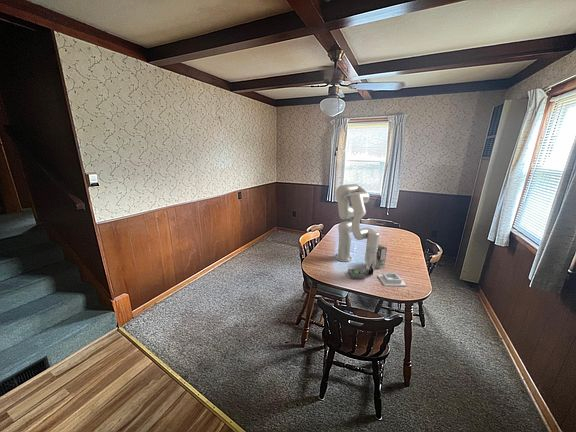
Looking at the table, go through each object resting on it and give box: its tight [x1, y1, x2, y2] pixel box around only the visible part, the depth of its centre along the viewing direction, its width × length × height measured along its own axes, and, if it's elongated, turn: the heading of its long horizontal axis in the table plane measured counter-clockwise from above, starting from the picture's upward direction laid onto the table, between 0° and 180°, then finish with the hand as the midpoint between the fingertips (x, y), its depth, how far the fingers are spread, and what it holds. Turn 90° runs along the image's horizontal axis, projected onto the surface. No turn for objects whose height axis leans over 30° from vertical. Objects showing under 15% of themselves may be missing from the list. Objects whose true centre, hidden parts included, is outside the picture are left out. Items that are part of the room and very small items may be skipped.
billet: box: [364, 262, 372, 277], centre depth 161 cm, size 5×5×8 cm
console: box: [347, 268, 366, 280], centre depth 159 cm, size 9×9×3 cm
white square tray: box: [377, 272, 407, 287], centre depth 152 cm, size 12×14×4 cm
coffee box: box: [375, 243, 388, 270], centre depth 171 cm, size 9×6×16 cm
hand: (369, 272), depth 161 cm, fingers closed on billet, 5 cm apart
